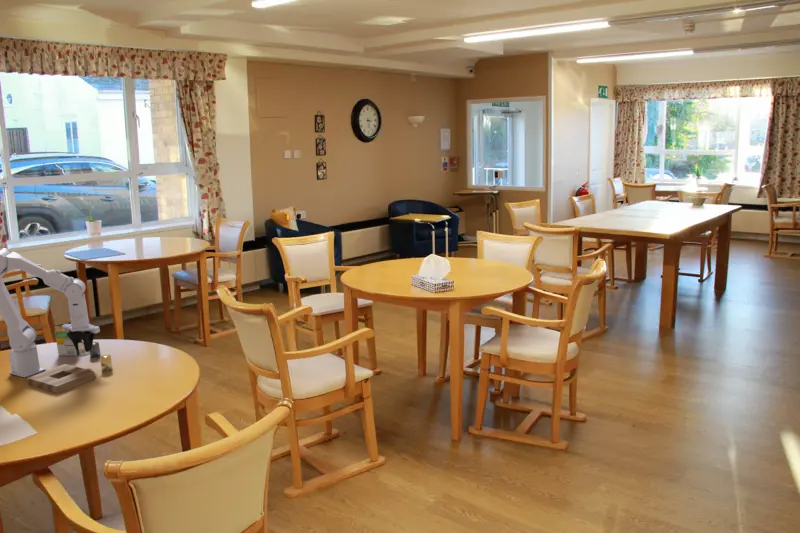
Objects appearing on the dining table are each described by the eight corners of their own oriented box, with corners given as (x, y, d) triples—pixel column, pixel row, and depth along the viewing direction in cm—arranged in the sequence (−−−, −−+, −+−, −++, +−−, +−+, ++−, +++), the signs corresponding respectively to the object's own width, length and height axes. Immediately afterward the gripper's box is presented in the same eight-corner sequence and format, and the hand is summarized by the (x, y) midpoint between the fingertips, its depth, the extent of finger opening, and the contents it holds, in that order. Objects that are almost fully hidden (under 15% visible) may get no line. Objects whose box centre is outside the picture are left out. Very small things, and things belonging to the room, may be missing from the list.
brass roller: (99, 370, 244) (97, 357, 243) (108, 367, 247) (106, 354, 246) (106, 372, 242) (104, 358, 241) (114, 368, 245) (112, 355, 244)
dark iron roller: (88, 357, 258) (86, 344, 257) (96, 354, 261) (94, 341, 260) (94, 358, 256) (92, 345, 255) (102, 355, 259) (100, 342, 258)
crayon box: (81, 352, 262) (76, 323, 260) (77, 355, 260) (72, 326, 257) (62, 352, 263) (58, 323, 260) (58, 355, 260) (53, 326, 258)
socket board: (28, 384, 234) (27, 378, 233) (66, 370, 245) (65, 363, 245) (57, 393, 226) (56, 386, 225) (95, 378, 237) (94, 371, 237)
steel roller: (77, 355, 247) (75, 342, 246) (86, 352, 250) (84, 339, 249) (83, 357, 245) (81, 343, 244) (92, 354, 248) (90, 340, 247)
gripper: (53, 316, 243) (59, 352, 246) (87, 318, 238) (92, 356, 241) (68, 310, 249) (74, 346, 252) (101, 312, 245) (106, 349, 248)
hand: (84, 350), depth 247 cm, fingers closed on steel roller, 3 cm apart
